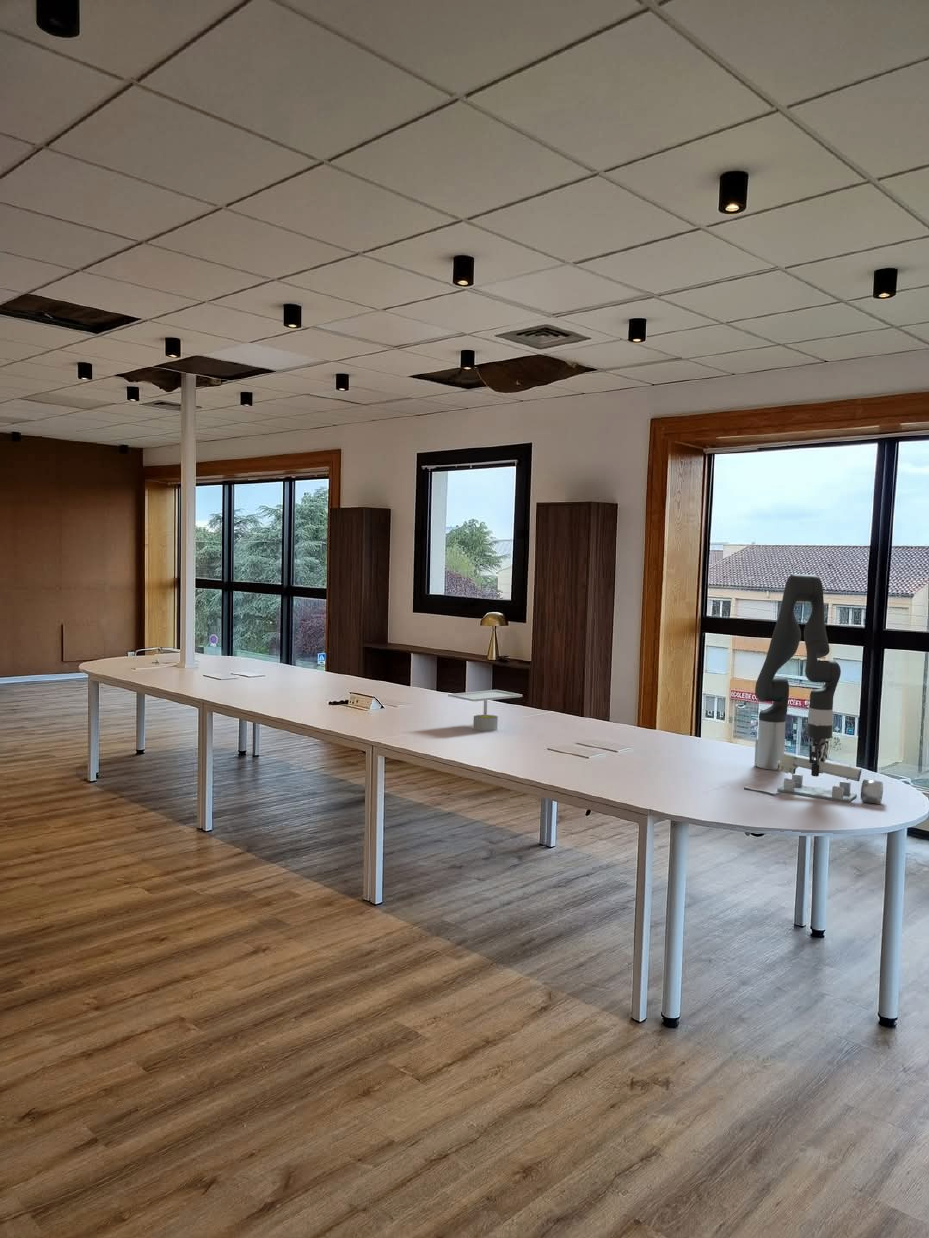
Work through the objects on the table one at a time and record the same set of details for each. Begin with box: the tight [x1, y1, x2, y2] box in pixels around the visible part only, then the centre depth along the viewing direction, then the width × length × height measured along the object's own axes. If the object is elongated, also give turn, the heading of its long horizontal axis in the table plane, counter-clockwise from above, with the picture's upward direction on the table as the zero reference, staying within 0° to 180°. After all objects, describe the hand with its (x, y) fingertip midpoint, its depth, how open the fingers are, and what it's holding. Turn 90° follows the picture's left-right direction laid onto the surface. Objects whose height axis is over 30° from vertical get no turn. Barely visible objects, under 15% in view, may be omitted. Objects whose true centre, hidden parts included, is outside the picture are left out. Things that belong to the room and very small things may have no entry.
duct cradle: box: [776, 773, 884, 805], centre depth 293 cm, size 30×10×7 cm, turn 54°
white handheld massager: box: [776, 752, 862, 782], centre depth 296 cm, size 5×7×25 cm
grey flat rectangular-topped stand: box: [447, 689, 523, 732], centre depth 395 cm, size 28×17×15 cm, turn 129°
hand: (817, 774), depth 296 cm, fingers closed on white handheld massager, 5 cm apart
